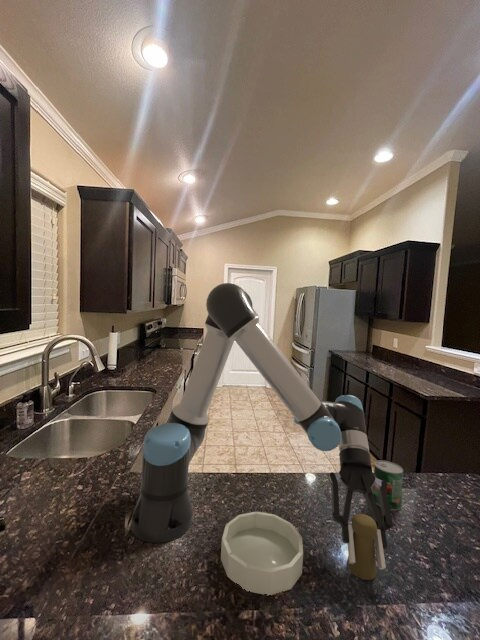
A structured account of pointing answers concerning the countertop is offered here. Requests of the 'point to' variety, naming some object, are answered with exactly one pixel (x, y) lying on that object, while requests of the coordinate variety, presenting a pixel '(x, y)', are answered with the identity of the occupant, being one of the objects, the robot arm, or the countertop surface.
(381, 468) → the canned tomato
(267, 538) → the bowl
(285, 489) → the countertop surface
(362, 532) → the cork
